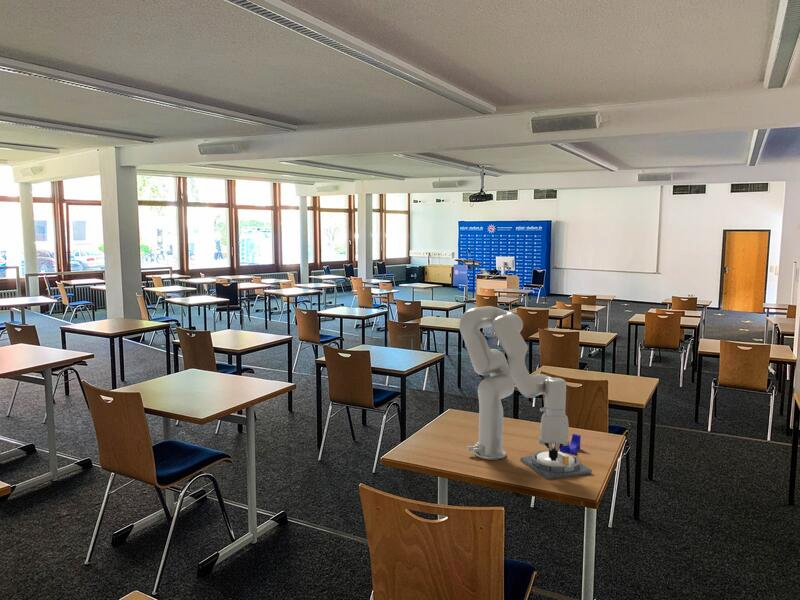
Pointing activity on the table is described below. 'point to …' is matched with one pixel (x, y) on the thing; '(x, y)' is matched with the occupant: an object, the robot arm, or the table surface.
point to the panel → (556, 474)
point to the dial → (560, 461)
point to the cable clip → (572, 445)
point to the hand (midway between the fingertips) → (553, 459)
